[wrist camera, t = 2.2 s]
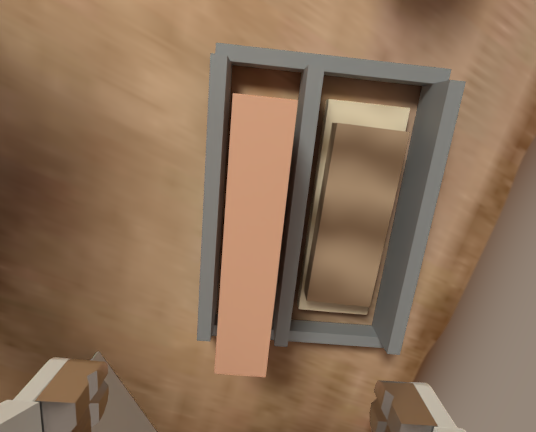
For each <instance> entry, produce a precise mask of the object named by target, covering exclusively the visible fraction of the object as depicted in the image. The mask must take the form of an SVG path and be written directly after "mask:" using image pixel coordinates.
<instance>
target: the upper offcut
mask: <svg viewBox="0 0 536 432" xmlns="http://www.w3.org/2000/svg"><path fill="white" fill-rule="evenodd" d="M409 136H410V132H405V131H397V130H390V129H382V128H374V127H366V126H359V125H351V124H343V123H332V127H331V133H330V139H329V144H328V150H327V156H326V162H325V168H324V174H323V180H322V186H321V192H320V198H319V204H318V210H317V215H316V221H315V227H314V233H313V239H312V245H311V251H310V257H309V263H308V269H307V275H306V280H305V286H304V293H305V297H306V300H307V301H314V302H324V303H334V304H345V305H355V306H365V307H370V304H371V300H372V295H373V291H374V287H375V282H376V278H377V274H378V269H379V265H380V261H381V256H382V252H383V248H384V244H385V239H386V235H387V231H388V226H389V222H390V218H391V213H392V209H393V205H394V201H395V196H396V192H397V188H398V183H399V179H400V175H401V170H402V166H403V162H404V158H405V153H406V149H407V145H408V140H409Z"/></svg>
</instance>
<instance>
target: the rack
mask: <svg viewBox="0 0 536 432" xmlns="http://www.w3.org/2000/svg"><path fill="white" fill-rule="evenodd" d="M232 65H236V66H245V67H254V68H263V69H273V70H282V71H291V72H300V73H301V80H300V89H299V98H298V106H297V115H296V123H295V132H294V140H293V149H292V158H291V166H290V175H289V183H288V192H287V200H286V209H285V218H284V226H283V235H282V243H281V252H280V260H279V269H278V278H277V286H276V295H275V303H274V312H273V319H272V327H271V336H270V340H274V346H283V347H287V346H288V341H294V342H308V343H321V344H335V345H349V346H363V347H377V348H384V349H385V351H386V353H387V354H396V355H400V351H401V347H402V343H403V339H404V335H405V331H406V326H407V322H408V318H409V314H410V310H411V306H412V302H413V298H414V293H415V289H416V285H417V281H418V277H419V273H420V269H421V265H422V260H423V256H424V252H425V248H426V244H427V240H428V236H429V231H430V227H431V223H432V219H433V215H434V211H435V207H436V203H437V198H438V194H439V190H440V186H441V182H442V178H443V174H444V170H445V165H446V161H447V157H448V153H449V149H450V145H451V141H452V136H453V132H454V128H455V124H456V120H457V116H458V112H459V108H460V103H461V99H462V95H463V91H464V87H465V83H466V82H464V81H455V80H449V77H450V73H451V69H445V68H436V67H427V66H418V65H409V64H401V63H392V62H383V61H374V60H365V59H356V58H347V57H339V56H330V55H321V54H312V53H303V52H294V51H285V50H276V49H268V48H259V47H250V46H241V45H232V44H223V43H216V53H215V54H213V53H211V56H210V77H209V98H208V119H207V140H206V161H205V182H204V203H203V224H202V245H201V266H200V287H199V308H198V329H197V340H198V341H210V340H211V336H217V325H218V314H216V313H217V297H218V282H219V266H220V250H221V235H222V219H223V204H224V188H225V173H226V157H227V142H228V126H229V111H230V95H231V80H232ZM324 75H327V76H336V77H345V78H354V79H364V80H373V81H382V82H391V83H400V84H409V85H418V86H422V88H421V93H420V98H419V103H418V107H417V112H416V117H415V122H414V127H413V131H412V136H411V141H410V146H409V150H408V155H407V160H406V165H405V169H404V174H403V179H402V184H401V189H400V193H399V198H398V203H397V208H396V212H395V217H394V222H393V227H392V232H391V236H390V241H389V246H388V251H387V255H386V260H385V265H384V270H383V274H382V279H381V284H380V289H379V294H378V298H377V303H376V308H375V313H374V317H373V322H372V326H371V325H358V324H344V323H331V322H317V321H304V320H291V316H292V309H293V301H294V294H295V286H296V279H297V271H298V264H299V256H300V249H301V241H302V234H303V226H304V219H305V212H306V204H307V197H308V189H309V182H310V174H311V167H312V159H313V152H314V144H315V137H316V129H317V122H318V114H319V107H320V99H321V92H322V84H323V77H324Z"/></svg>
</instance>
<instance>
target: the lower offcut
mask: <svg viewBox="0 0 536 432" xmlns="http://www.w3.org/2000/svg"><path fill="white" fill-rule="evenodd" d="M409 112H410V108H405V107H396V106H387V105H378V104H369V103H360V102H351V101H342V100H334V99H327V100H326V104H325V111H324V118H323V125H322V132H321V139H320V146H319V153H318V160H317V166H316V173H315V180H314V187H313V194H312V201H311V208H310V215H309V222H308V229H307V236H306V243H305V250H304V257H303V264H302V271H301V278H300V285H299V292H298V299H297V305H298V309H302V310H314V311H326V312H339V313H351V314H364V315H367V312H368V307H365V306H355V305H345V304H334V303H324V302H314V301H307V300H306V297H305V293H304V286H305V280H306V275H307V269H308V263H309V257H310V251H311V245H312V239H313V233H314V227H315V221H316V215H317V210H318V204H319V198H320V192H321V186H322V180H323V174H324V168H325V162H326V156H327V150H328V144H329V139H330V133H331V127H332V123H343V124H351V125H359V126H366V127H374V128H382V129H390V130H397V131H406V126H407V121H408V116H409Z"/></svg>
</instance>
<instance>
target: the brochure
mask: <svg viewBox="0 0 536 432" xmlns="http://www.w3.org/2000/svg"><path fill="white" fill-rule="evenodd" d="M91 360H93V361H104V362H106V360H105V359H104V357H103V356H102V355H101V353H100V352H99V351H97V352H96V353H95V355H94V356H93V357H92V359H91ZM106 363H107V362H106ZM107 364H108V363H107ZM104 381H105V382H106V383H107V385H108V386H109V395H108V402H107V405H106V408H105V411H104V414H103V416H102V418H101V419H100V421H99V422H98V423H97V424H95V425H94V426H93V427H91V432H157V431H156V430H155V428H154V427H153V426H152V424H151V423H150V421H149V420H148V419H147V417H146V416H145V415H144V413H143V412H142V410H141V409H140V408H139V406H138V405H137V403H136V402H135V401H134V399H133V398H132V396H131V395H130V394H129V392H128V391H127V389H126V388H125V387H124V385H123V384H122V382H121V381H120V380H119V378H118V377H117V375H116V374H115V373H114V371H113V370H112V369H111V367H110V366H109V364H108V374H107V376H106V378H105V379H104Z"/></svg>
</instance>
